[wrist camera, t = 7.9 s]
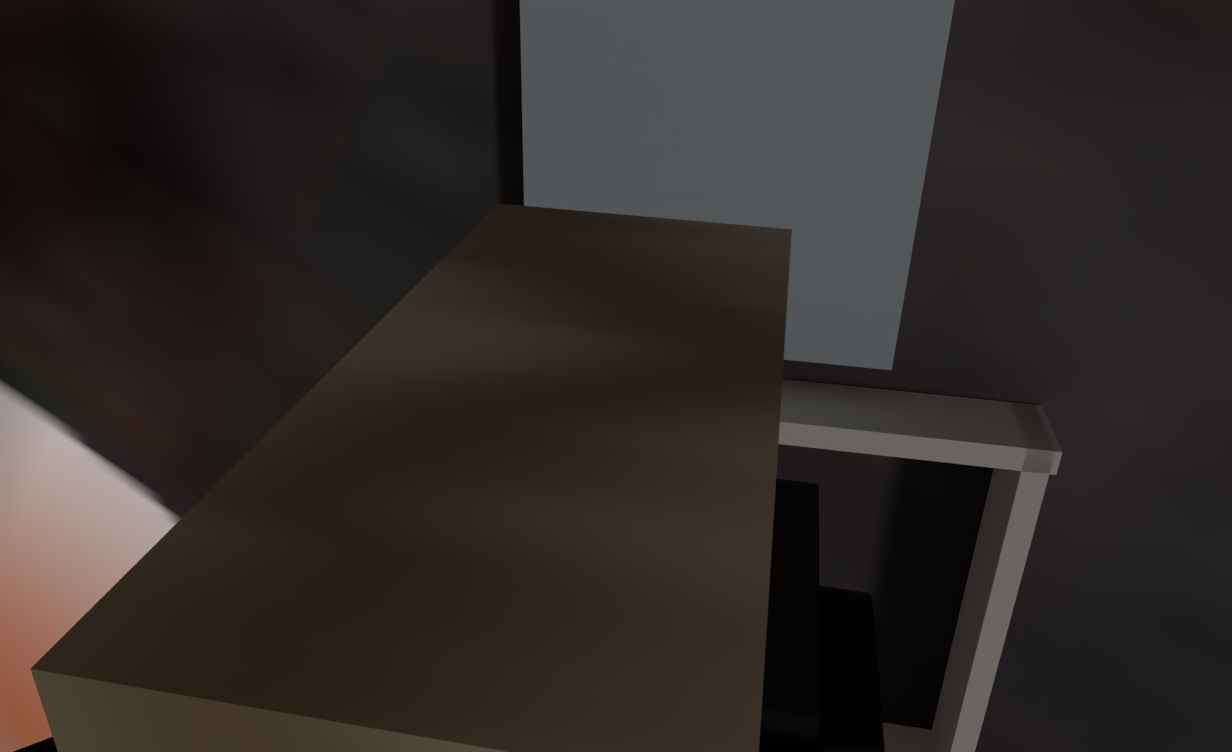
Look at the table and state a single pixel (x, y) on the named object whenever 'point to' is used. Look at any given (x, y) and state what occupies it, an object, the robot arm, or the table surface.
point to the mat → (749, 136)
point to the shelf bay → (1018, 482)
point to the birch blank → (481, 521)
